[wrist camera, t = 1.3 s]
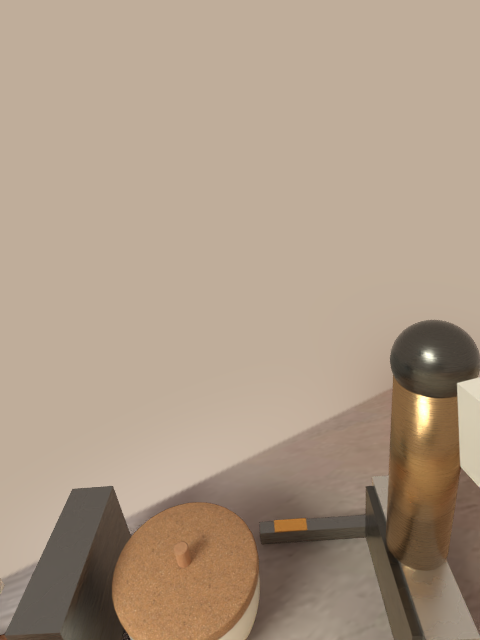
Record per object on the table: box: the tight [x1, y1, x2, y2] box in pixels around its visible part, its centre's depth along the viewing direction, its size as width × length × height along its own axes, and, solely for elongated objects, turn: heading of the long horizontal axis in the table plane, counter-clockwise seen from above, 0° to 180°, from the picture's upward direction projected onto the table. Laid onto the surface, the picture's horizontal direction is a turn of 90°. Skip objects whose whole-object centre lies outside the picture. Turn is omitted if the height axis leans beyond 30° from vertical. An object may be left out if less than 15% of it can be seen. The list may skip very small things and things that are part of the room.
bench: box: [4, 486, 366, 640], centre depth 32 cm, size 29×15×10 cm, turn 89°
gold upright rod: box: [365, 320, 480, 640], centre depth 27 cm, size 4×12×25 cm, turn 179°
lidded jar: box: [112, 502, 260, 640], centre depth 32 cm, size 11×11×9 cm
